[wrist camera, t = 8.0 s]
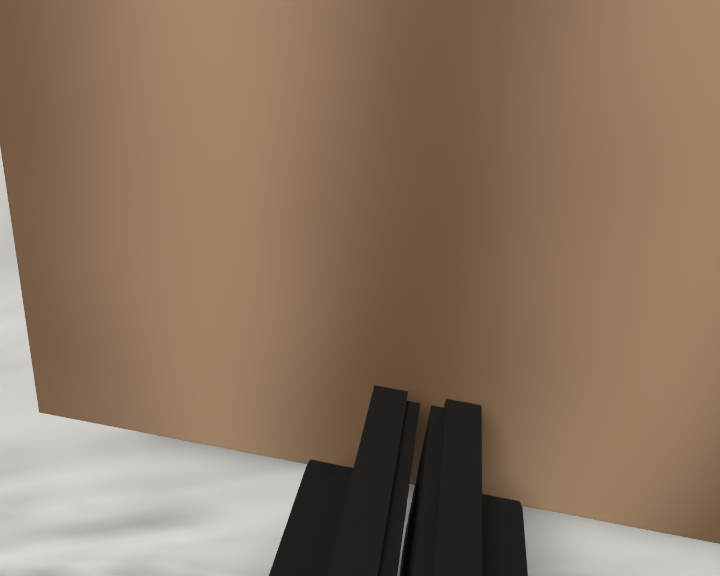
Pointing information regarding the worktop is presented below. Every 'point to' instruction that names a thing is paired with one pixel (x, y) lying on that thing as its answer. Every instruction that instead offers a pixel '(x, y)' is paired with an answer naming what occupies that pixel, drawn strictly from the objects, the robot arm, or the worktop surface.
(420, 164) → the board
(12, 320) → the worktop surface
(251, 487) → the worktop surface
